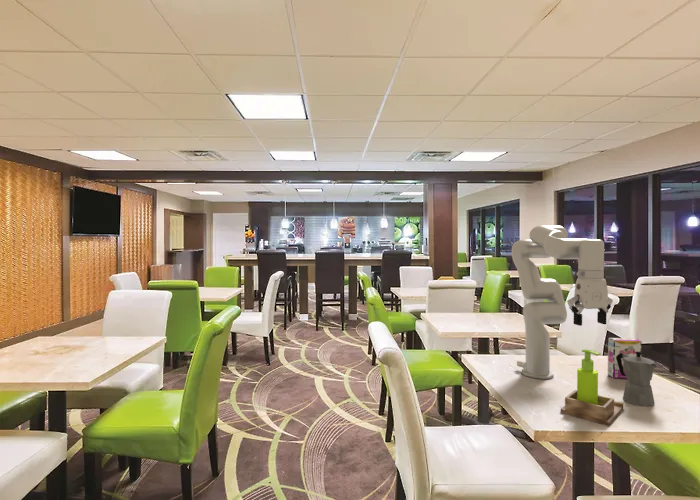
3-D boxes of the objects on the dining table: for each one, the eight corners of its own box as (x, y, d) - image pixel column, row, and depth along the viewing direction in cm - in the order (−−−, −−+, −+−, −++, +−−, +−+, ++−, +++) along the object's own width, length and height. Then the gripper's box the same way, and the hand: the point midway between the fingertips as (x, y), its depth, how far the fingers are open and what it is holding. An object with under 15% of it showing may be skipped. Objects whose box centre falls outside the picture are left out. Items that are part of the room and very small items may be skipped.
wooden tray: (560, 412, 132) (560, 397, 132) (578, 398, 144) (578, 384, 144) (609, 426, 122) (609, 409, 122) (623, 409, 134) (623, 394, 134)
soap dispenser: (593, 415, 126) (594, 354, 126) (573, 408, 133) (573, 349, 132) (604, 412, 129) (605, 351, 129) (584, 404, 135) (584, 347, 135)
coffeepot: (667, 407, 136) (667, 355, 136) (645, 410, 134) (645, 357, 134) (626, 391, 151) (626, 344, 151) (606, 393, 149) (606, 346, 149)
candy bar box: (613, 379, 165) (613, 340, 165) (607, 375, 170) (607, 337, 170) (642, 379, 164) (642, 340, 164) (634, 375, 169) (634, 337, 169)
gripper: (577, 276, 130) (576, 327, 131) (621, 275, 134) (620, 325, 134) (560, 274, 137) (560, 323, 138) (603, 273, 141) (602, 320, 141)
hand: (589, 324), depth 136 cm, fingers open, 9 cm apart
